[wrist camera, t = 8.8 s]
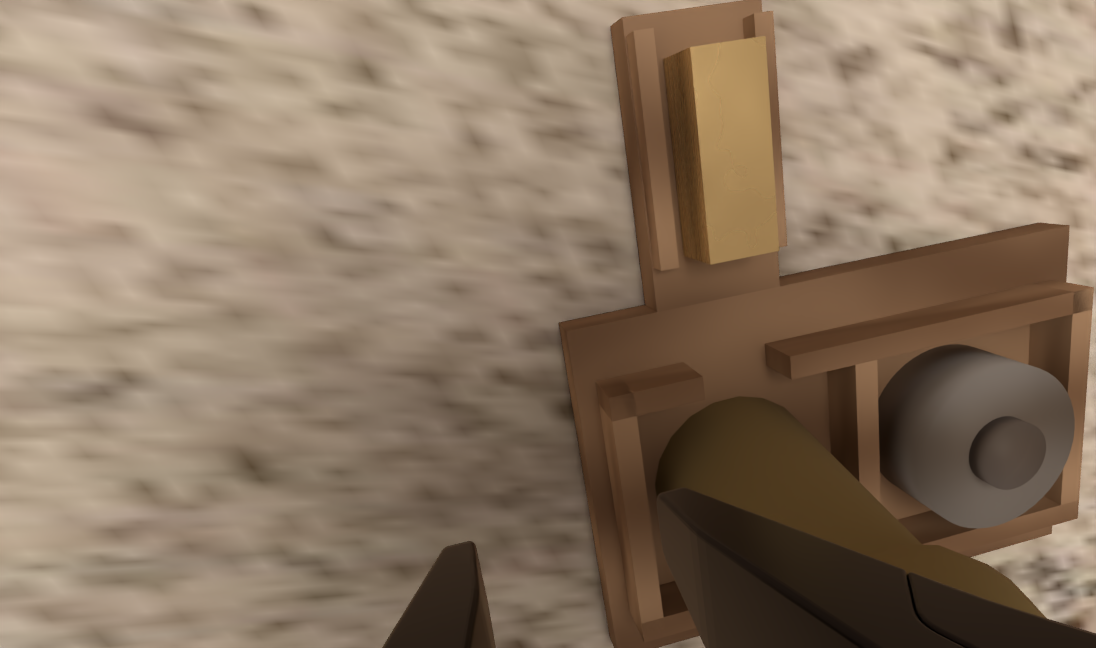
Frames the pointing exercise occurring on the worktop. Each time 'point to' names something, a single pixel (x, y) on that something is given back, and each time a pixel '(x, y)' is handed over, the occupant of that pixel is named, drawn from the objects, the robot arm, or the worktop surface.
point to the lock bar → (723, 149)
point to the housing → (822, 358)
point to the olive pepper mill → (808, 492)
